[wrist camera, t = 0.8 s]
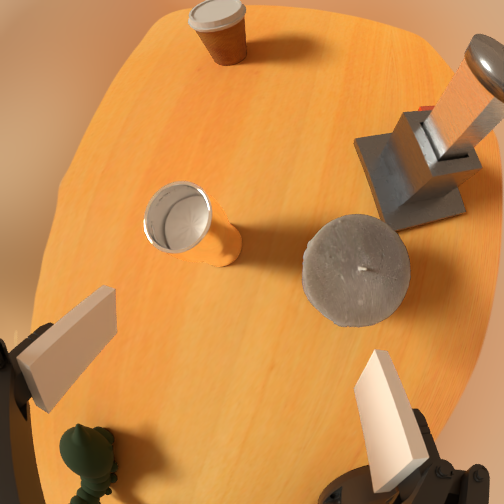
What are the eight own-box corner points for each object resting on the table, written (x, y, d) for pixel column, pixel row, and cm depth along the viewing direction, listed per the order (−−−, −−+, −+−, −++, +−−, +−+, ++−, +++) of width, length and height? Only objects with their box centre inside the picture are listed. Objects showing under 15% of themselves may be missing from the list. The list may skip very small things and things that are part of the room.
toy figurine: (126, 498, 36) (132, 418, 37) (78, 547, 18) (55, 475, 18) (90, 475, 38) (88, 391, 38) (38, 516, 20) (8, 430, 20)
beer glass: (242, 215, 39) (211, 171, 24) (248, 266, 38) (218, 249, 23) (194, 223, 40) (141, 187, 25) (198, 273, 39) (143, 261, 24)
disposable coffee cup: (266, 50, 43) (257, 2, 31) (229, 78, 43) (211, 29, 31) (231, 35, 45) (217, -9, 33) (195, 61, 45) (174, 17, 33)
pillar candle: (379, 250, 35) (424, 222, 21) (364, 322, 34) (404, 339, 20) (309, 234, 37) (315, 196, 23) (292, 307, 36) (288, 316, 22)
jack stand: (461, 214, 34) (506, 189, 22) (384, 234, 36) (419, 210, 24) (428, 132, 36) (458, 90, 25) (353, 143, 38) (369, 94, 26)
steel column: (440, 190, 33) (545, 98, 10) (404, 198, 34) (506, 92, 10) (424, 150, 34) (503, 40, 11) (388, 155, 35) (458, 29, 11)
